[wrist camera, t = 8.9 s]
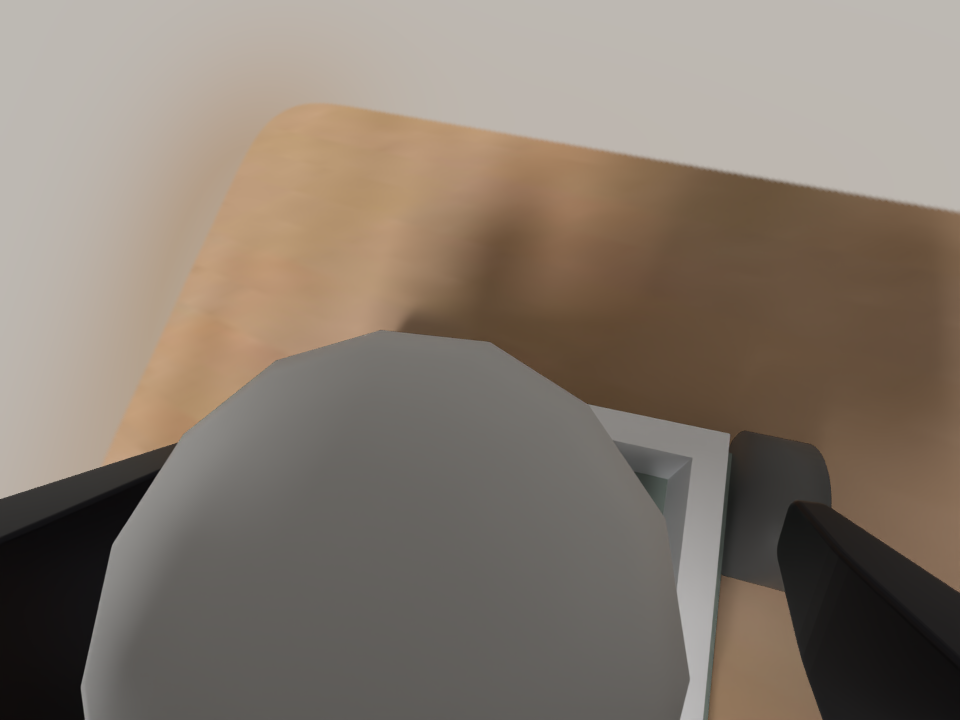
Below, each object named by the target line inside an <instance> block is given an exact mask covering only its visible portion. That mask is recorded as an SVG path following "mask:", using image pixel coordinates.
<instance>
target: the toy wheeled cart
mask: <svg viewBox="0 0 960 720" xmlns="http://www.w3.org/2000/svg"><path fill="white" fill-rule="evenodd" d="M588 405H589V404H588ZM589 406H590V408H591V409H592V411H593V412H594V413H595V415H596V416H597V418H598V419H599V421H600V422H601V424H602V425H603V427H604V428H605V430H606V431H607V433H608V434H609V436H610V437H611V439H612V440H613V442H614V443H615V445H616V446H617V448H618V449H619V451H620V452H621V454H622V455H623V457H624V458H625V459H626V461H627V462H628V464H629V465H630V467H631V468H632V470H633V471H634V473H635V474H636V476H637V477H638V479H639V480H640V482H641V483H642V485H643V486H644V488H645V489H646V491H647V492H648V494H649V495H650V497H651V498H652V500H653V501H654V503H655V504H656V506H657V507H658V508H659V510H660V511H661V513H662V514H663V516H664V517H665V519H666V526H667V532H668V539H669V545H670V552H671V558H672V565H673V571H674V578H675V584H676V591H677V597H678V604H679V610H680V616H681V623H682V629H683V636H684V642H685V649H686V655H687V662H688V668H689V675H690V682H689V686H688V690H687V694H686V698H685V702H684V706H683V710H682V714H681V718H680V720H708V710H709V699H710V689H711V678H712V667H713V656H714V645H715V635H716V624H717V613H718V602H719V591H720V581H721V574H722V575H723V576H727V577H731V578H735V579H738V580H742V581H746V582H750V583H754V584H757V585H761V586H765V587H769V588H773V589H776V590H780V591H784V592H785V589H784V585H783V581H782V577H781V573H780V568H779V564H778V560H777V543H778V540H779V536H780V533H781V529H782V526H783V523H784V519H785V516H786V513H787V509H788V507H789V505H790V504H791V502H793V501H795V500H801V501H809V502H818V503H823V504H825V505H827V506H829V507H830V508H831V486H830V479H829V474H828V470H827V466H826V463H825V460H824V458H823V456H822V454H821V453H820V452H819V450H818V449H817V448H816V447H815V446H813V445H811V444H807V443H802V442H798V441H793V440H788V439H783V438H778V437H773V436H768V435H763V434H759V433H754V432H749V431H742V432H740V433H739V434H738V435H737V436H736V437H735V438H734V440H733V441H732V443H731V444H730V446H729V442H730V434H729V433H724V432H719V431H714V430H710V429H705V428H700V427H695V426H690V425H686V424H681V423H676V422H671V421H666V420H662V419H657V418H652V417H647V416H642V415H637V414H633V413H628V412H623V411H618V410H613V409H609V408H604V407H599V406H594V405H589Z"/></svg>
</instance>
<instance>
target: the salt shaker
mask: <svg viewBox="0 0 960 720" xmlns="http://www.w3.org/2000/svg"><path fill="white" fill-rule="evenodd" d="M689 682H690V675H689V668H688V662H687V655H686V649H685V642H684V636H683V629H682V623H681V616H680V610H679V604H678V597H677V591H676V584H675V578H674V571H673V565H672V558H671V552H670V545H669V539H668V532H667V526H666V519H665V517H664V516H663V514H662V513H661V511H660V510H659V508H658V507H657V506H656V504H655V503H654V501H653V500H652V498H651V497H650V495H649V494H648V492H647V491H646V489H645V488H644V486H643V485H642V483H641V482H640V480H639V479H638V477H637V476H636V474H635V473H634V471H633V470H632V468H631V467H630V465H629V464H628V462H627V461H626V459H625V458H624V457H623V455H622V454H621V452H620V451H619V449H618V448H617V446H616V445H615V443H614V442H613V440H612V439H611V437H610V436H609V434H608V433H607V431H606V430H605V428H604V427H603V425H602V424H601V422H600V421H599V419H598V418H597V416H596V415H595V413H594V412H593V411H592V409H591V408H590V406H589V405H588V404H586V403H585V402H583V401H582V400H580V399H578V398H577V397H575V396H574V395H572V394H571V393H569V392H567V391H566V390H564V389H563V388H561V387H560V386H558V385H556V384H555V383H553V382H552V381H550V380H549V379H547V378H545V377H544V376H542V375H541V374H539V373H538V372H536V371H535V370H533V369H531V368H530V367H528V366H527V365H525V364H524V363H522V362H520V361H519V360H517V359H516V358H514V357H513V356H511V355H509V354H508V353H506V352H505V351H503V350H502V349H500V348H498V347H497V346H495V345H494V344H492V343H491V342H486V341H476V340H467V339H458V338H449V337H440V336H430V335H421V334H412V333H403V332H394V331H385V330H380V331H376V332H373V333H370V334H366V335H363V336H359V337H356V338H352V339H349V340H345V341H342V342H338V343H335V344H332V345H328V346H325V347H321V348H318V349H314V350H311V351H307V352H304V353H300V354H297V355H293V356H290V357H287V358H283V359H280V360H276V361H275V362H273V363H272V364H271V365H270V366H268V367H267V368H266V369H265V370H263V371H262V372H261V373H260V374H258V375H257V376H256V377H255V378H253V379H252V380H251V381H250V382H248V383H247V384H246V385H245V386H243V387H242V388H241V389H240V390H238V391H237V392H236V393H235V394H233V395H232V396H231V397H230V398H228V399H227V400H226V401H225V402H223V403H222V404H221V405H220V406H218V407H217V408H216V409H215V410H213V411H212V412H211V413H210V414H208V415H207V416H206V417H205V418H203V419H202V420H201V421H200V422H198V423H197V424H196V425H194V426H193V427H192V428H191V429H189V430H188V431H187V432H186V433H184V434H183V436H182V437H181V439H180V440H179V442H178V443H177V445H176V447H175V448H174V450H173V451H172V453H171V454H170V456H169V457H168V459H167V461H166V462H165V464H164V465H163V467H162V468H161V470H160V471H159V473H158V474H157V476H156V478H155V479H154V481H153V482H152V484H151V485H150V487H149V488H148V490H147V492H146V493H145V495H144V496H143V498H142V499H141V501H140V502H139V504H138V506H137V507H136V509H135V510H134V512H133V513H132V515H131V516H130V518H129V519H128V521H127V523H126V524H125V526H124V527H123V529H122V530H121V532H120V533H119V535H118V537H117V538H116V540H115V541H114V543H113V544H112V548H111V552H110V557H109V561H108V566H107V570H106V575H105V579H104V584H103V588H102V593H101V598H100V602H99V607H98V611H97V616H96V620H95V625H94V629H93V634H92V638H91V643H90V648H89V652H88V657H87V661H86V666H85V670H84V675H83V679H82V684H81V694H82V701H83V709H84V716H85V720H680V718H681V714H682V710H683V706H684V702H685V698H686V694H687V690H688V686H689Z"/></svg>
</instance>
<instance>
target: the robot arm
mask: <svg viewBox="0 0 960 720" xmlns="http://www.w3.org/2000/svg"><path fill="white" fill-rule="evenodd" d="M176 445H177V443H175V444H172V445H169V446H166V447H163V448H159V449H156V450H153V451H150V452H147V453H144V454H141V455H137V456H134V457H131V458H128V459H125V460H122V461H119V462H115V463H112V464H109V465H106V466H103V467H100V468H97V469H94V470H90V471H87V472H84V473H81V474H78V475H75V476H72V477H68V478H66V479H62V480H59V481H56V482H53V483H50V484H47V485H44V486H40V487H37V488H34V489H31V490H28V491H25V492H21V493H18V494H15V495H12V496H9V497H6V498H3V499H0V720H85V716H84V709H83V701H82V694H81V684H82V679H83V675H84V670H85V666H86V661H87V657H88V652H89V648H90V643H91V638H92V634H93V629H94V625H95V620H96V616H97V611H98V607H99V602H100V598H101V593H102V588H103V584H104V579H105V575H106V570H107V566H108V561H109V557H110V552H111V548H112V544H113V543H114V541H115V540H116V538H117V537H118V535H119V533H120V532H121V530H122V529H123V527H124V526H125V524H126V523H127V521H128V519H129V518H130V516H131V515H132V513H133V512H134V510H135V509H136V507H137V506H138V504H139V502H140V501H141V499H142V498H143V496H144V495H145V493H146V492H147V490H148V488H149V487H150V485H151V484H152V482H153V481H154V479H155V478H156V476H157V474H158V473H159V471H160V470H161V468H162V467H163V465H164V464H165V462H166V461H167V459H168V457H169V456H170V454H171V453H172V451H173V450H174V448H175V447H176ZM777 560H778V564H779V568H780V573H781V577H782V581H783V585H784V589H785V594H786V598H787V602H788V606H789V610H790V615H791V619H792V623H793V627H794V631H795V636H796V640H797V644H798V648H799V651H800V655H801V659H802V662H803V665H804V668H805V671H806V674H807V677H808V680H809V683H810V685H811V688H812V691H813V694H814V697H815V699H816V702H817V705H818V708H819V711H820V713H821V716H822V719H823V720H960V593H959V592H958V591H956V590H955V589H953V588H952V587H950V586H948V585H947V584H945V583H944V582H942V581H941V580H939V579H938V578H936V577H935V576H933V575H932V574H930V573H929V572H927V571H926V570H924V569H923V568H921V567H920V566H918V565H917V564H915V563H914V562H912V561H911V560H909V559H908V558H906V557H904V556H903V555H901V554H900V553H898V552H897V551H895V550H894V549H892V548H891V547H889V546H888V545H886V544H885V543H883V542H882V541H880V540H879V539H877V538H876V537H874V536H873V535H871V534H870V533H868V532H867V531H865V530H864V529H862V528H861V527H859V526H858V525H856V524H854V523H853V522H851V521H850V520H848V519H847V518H845V517H844V516H842V515H841V514H839V513H838V512H836V511H835V510H833V509H832V508H830V507H829V506H827V505H825V504H823V503H818V502H809V501H801V500H795V501H793V502H791V504H790V505H789V507H788V509H787V513H786V516H785V519H784V523H783V526H782V529H781V533H780V536H779V540H778V543H777Z"/></svg>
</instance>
